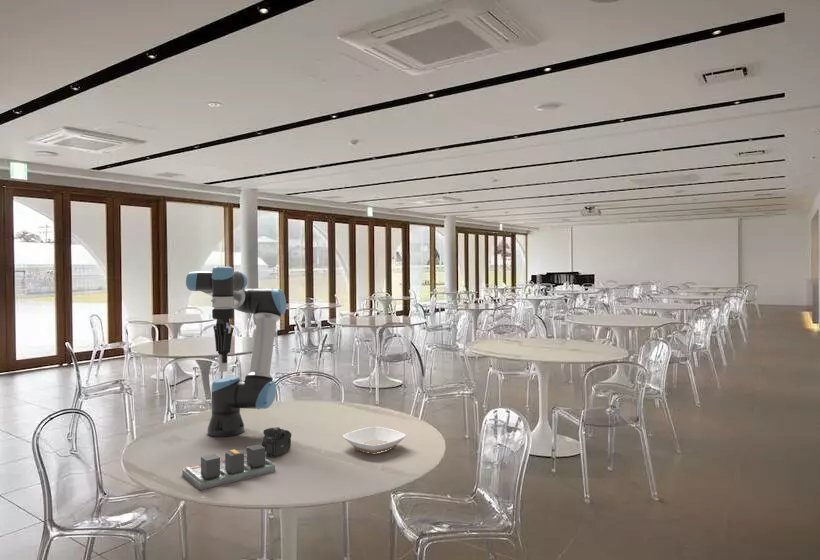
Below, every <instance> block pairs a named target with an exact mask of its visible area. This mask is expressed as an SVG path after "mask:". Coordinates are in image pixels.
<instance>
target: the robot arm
mask: <svg viewBox="0 0 820 560" xmlns="http://www.w3.org/2000/svg"><path fill="white" fill-rule="evenodd" d="M247 285H248V278H247V276H246V274H245V273H243V272H241V271H234V268H233V266H214V267H212V270H211V271H191V272H189V273H188V274H187V275H186V277H185V286H186V288H187V290H188V291H193V292H201V293H204V294H206V295H209V296H211V297H212V298H211V299H210V301H211V302H212V304H211V305H212V306H211V307H212V312H211V313H212V315H211V317H212V319H213V320H215V321H216V322H215V323H216V324H215V325H213V332H214V342H215V352H217V354H218V372H219V373H225V372H228V371H229V370H228V355H229V354H230V353H231V347H232V338H233V331H234V328H233V327H231V323H230V322H231V321H230V320H232V319H234V311H239V312H241V313H245V314H249V315H250V314H251V315H252V314H253V316H254V318H255V319H256V323H255V324H256V326H255V331H254V337H253V347H252V353H251V359H250V367H249V372H248V373H247V374H246V375H244V376H245V377H244V380H241V377H240V376H230V377H229V376H228V377H223V378H220V379H216V380H214V381H213V382H212V384H211V391H210V392H211V417H210V419H209V423H208V426H207V435H208V436H210V437H211V436H212V437H215V438H216V437H219V438H223V437H232V436H235V435H240V434H242V433H243V432H245V424H244V421H243V417H242V414H241V409H250V410H251V409H252V410H253V409H254V410H261V409H262V410H264V409H265V410H266V409H269V408H271V406H272V405H273V403H274V400H275V398H276V395H277V384H276V382H275V381H273V380H274V378H273V376H272V375H271V368H272V359H273V351H274V343H275V335H276V329H277V328H276V326H277V322H279V320H281V316H282V315H285V314H286V311H287V299H286V295H285V293H284V291H283V289H280V288H273V287H271V288H269V287H268V288H261V287H259V288H253V287H248V288H247V287H246V286H247Z"/></svg>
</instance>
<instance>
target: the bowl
mask: <svg viewBox="0 0 820 560" xmlns="http://www.w3.org/2000/svg"><path fill="white" fill-rule="evenodd" d="M406 437H407V434H405V433H404V432H401V431H398V430H396V429H392V428H388V427H383V426H367V427H363V428H360V429H355V430H352V431H349V432H347V433H344V434H343V435H342V438H344V440H345V441H347V442H348V443H349V444H350V445H351V446H353V448H355V450H357V449H358V450H357V451H359V450H361V451H364V452H369V453H377V452H381V451H385V450H388V449H390V448H393V447H394V446H395V447H396V446H398V444H400V442H402V441H403V440H404V439H405V438H406ZM374 439H377V440H382V441H387V443H383V444H378V445H369V444H364V442H367V441H370V440H374ZM395 447H394V448H395ZM394 448H393V449H394ZM361 451H360V452H361ZM364 452H363V453H364Z"/></svg>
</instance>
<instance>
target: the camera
mask: <svg viewBox="0 0 820 560" xmlns="http://www.w3.org/2000/svg"><path fill="white" fill-rule="evenodd" d="M263 435H264V436H263V438H262V441H261V446H263V447H265V456H267V457H274V458H276V457H278V456H280V455H282V454H284V453H285V452H288V451H289V450H290V449H291V445H292V444H291V443H292V432H291V431H289V430H287V429H284V428H281V427H268V428H266V429H263Z"/></svg>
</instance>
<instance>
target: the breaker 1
mask: <svg viewBox="0 0 820 560" xmlns="http://www.w3.org/2000/svg"><path fill="white" fill-rule="evenodd" d="M220 461H221V457H220V456H219V455H217V454H216V453H212V454H207V455H203V456H200V465H201V475H202V476H203V477H204V478H206V479H209V478H213V477H217V476H220Z"/></svg>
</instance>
